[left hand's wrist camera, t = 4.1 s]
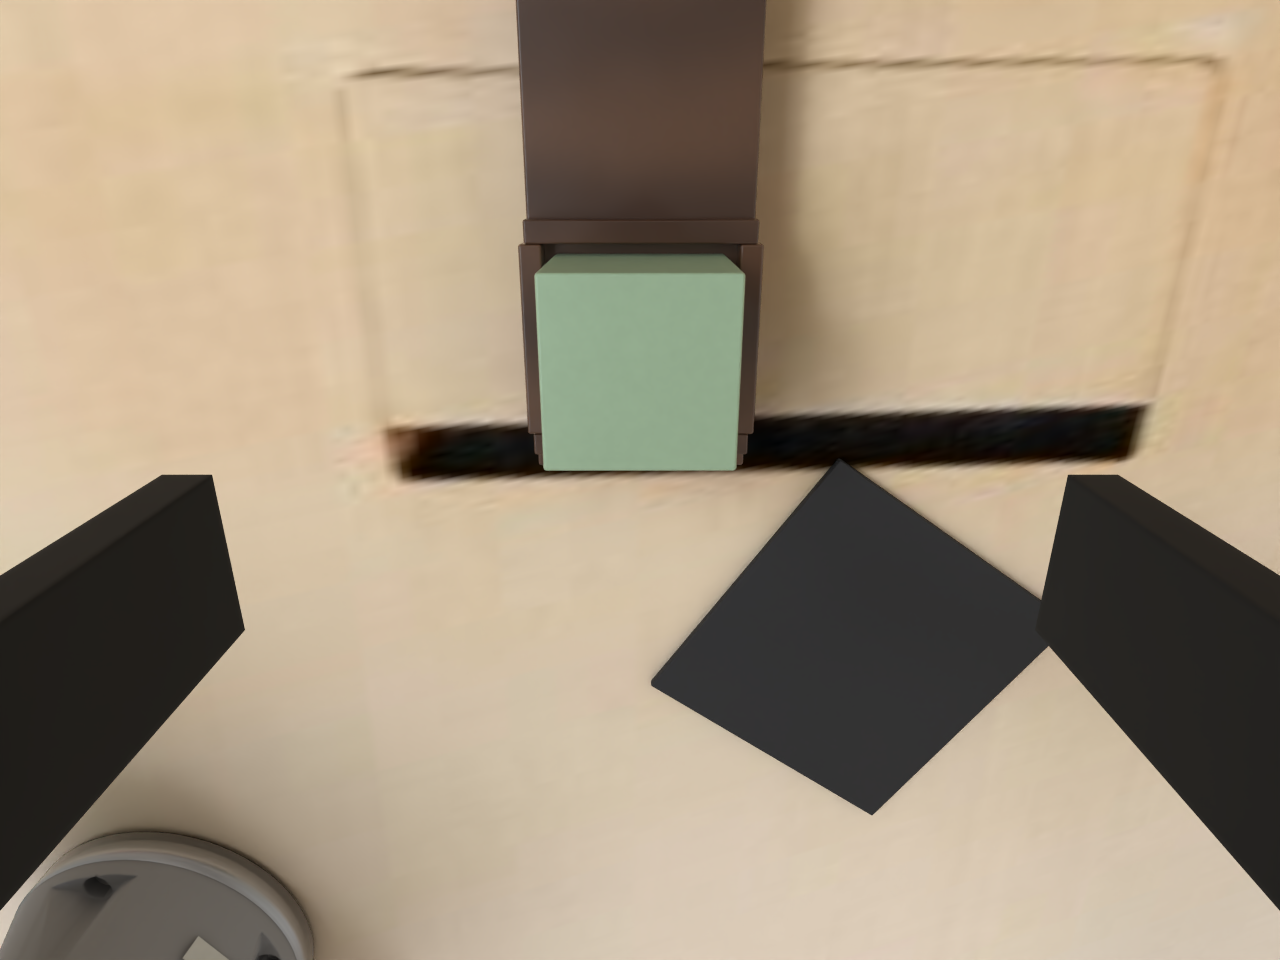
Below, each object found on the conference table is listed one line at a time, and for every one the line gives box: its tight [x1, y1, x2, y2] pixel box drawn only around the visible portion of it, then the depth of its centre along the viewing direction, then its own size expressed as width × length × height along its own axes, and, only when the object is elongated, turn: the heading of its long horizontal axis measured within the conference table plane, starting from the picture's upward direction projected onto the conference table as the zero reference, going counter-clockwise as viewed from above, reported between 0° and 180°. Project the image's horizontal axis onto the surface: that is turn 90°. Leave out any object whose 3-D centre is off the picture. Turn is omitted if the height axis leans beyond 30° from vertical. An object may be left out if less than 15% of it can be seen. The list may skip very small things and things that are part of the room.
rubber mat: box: [651, 458, 1049, 815], centre depth 37 cm, size 14×14×1 cm
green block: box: [534, 254, 745, 470], centre depth 26 cm, size 6×6×6 cm
